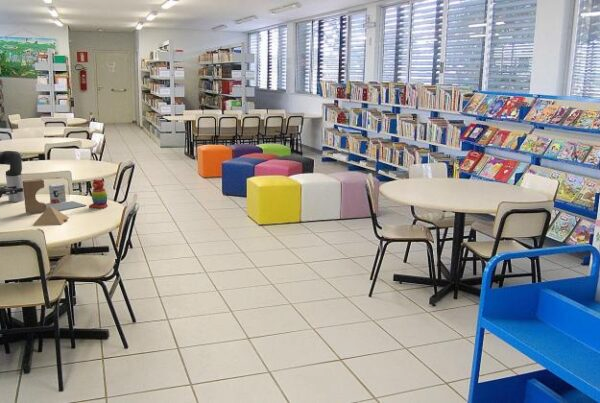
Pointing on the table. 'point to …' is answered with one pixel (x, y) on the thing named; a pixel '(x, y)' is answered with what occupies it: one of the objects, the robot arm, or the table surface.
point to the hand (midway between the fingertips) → (19, 188)
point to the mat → (66, 205)
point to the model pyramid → (51, 218)
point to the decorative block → (33, 196)
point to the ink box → (57, 193)
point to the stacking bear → (98, 195)
